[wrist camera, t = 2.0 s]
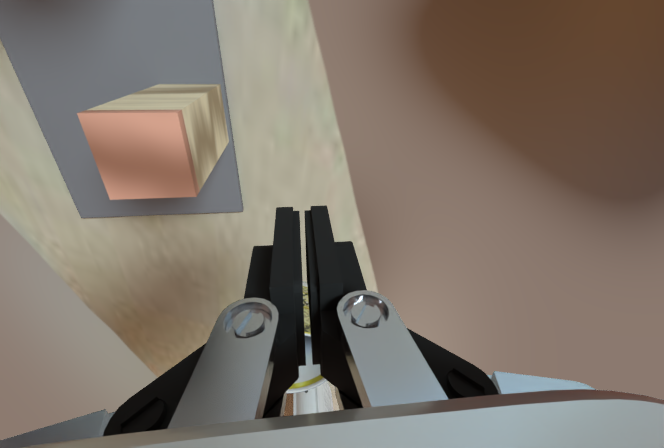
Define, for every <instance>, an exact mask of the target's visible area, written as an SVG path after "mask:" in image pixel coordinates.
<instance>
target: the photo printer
mask: <svg viewBox="0 0 664 448" xmlns="http://www.w3.org/2000/svg"><path fill="white" fill-rule="evenodd" d="M329 411H333V402H332V394H331V390H330V387H329V384H328V382H327V381H325V382H324V383H323V384H321V385H319V386H317V387H315V388H313V389H310V390H307V391H304V392H299V393H293V415H301V414H310V413H320V412H329Z"/></svg>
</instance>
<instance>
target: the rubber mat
mask: <svg viewBox="0 0 664 448" xmlns="http://www.w3.org/2000/svg"><path fill="white" fill-rule="evenodd" d="M0 39H1V41H2V43H3V46H4V48H5V50H6V52H7V55H8V57H9V59H10V61H11V63H12V66H13V68H14V70H15V72H16V75H17V77H18V79H19V81H20V83H21V86H22V88H23V90H24V92H25V94H26V97H27V99H28V101H29V103H30V106H31V108H32V110H33V112H34V114H35V117H36V119H37V121H38V123H39V126H40V128H41V130H42V132H43V134H44V137H45V139H46V141H47V143H48V145H49V148H50V150H51V152H52V154H53V157H54V159H55V161H56V163H57V165H58V168H59V170H60V172H61V174H62V177H63V179H64V181H65V183H66V185H67V188H68V190H69V192H70V194H71V196H72V199H73V201H74V203H75V205H76V208H77V210H78V212H79V214H80V216H81V218H93V217H118V216H143V215H168V214H193V213H218V212H243V203H242V196H241V189H240V182H239V175H238V169H237V162H236V155H235V148H234V141H233V134H232V128H231V121H230V114H229V107H228V100H227V93H226V87H225V80H224V73H223V66H222V59H221V52H220V46H219V39H218V32H217V25H216V18H215V12H214V5H213V0H0ZM158 84H220V86H221V93H222V99H223V106H224V112H225V119H226V125H227V132H228V138H229V143H228V144H227V146H226V148H225V149H224V151H223V153H222V154H221V156H220V158H219V159H218V161H217V163H216V165H215V166H214V168H213V170H212V171H211V173H210V175H209V176H208V178H207V180H206V181H205V183H204V185H203V187H202V188H201V190H200V192H199V193H198V195H197V197H177V198H148V199H119V200H110V198H109V196H108V193H107V191H106V188H105V185H104V183H103V180H102V178H101V175H100V172H99V170H98V167H97V164H96V162H95V159H94V157H93V154H92V151H91V149H90V146H89V144H88V141H87V138H86V136H85V133H84V131H83V128H82V125H81V123H80V120H79V118H78V115H77V113H79V112H82V111H85V110H88V109H90V108H93V107H96V106H99V105H102V104H105V103H107V102H110V101H113V100H116V99H119V98H121V97H124V96H127V95H130V94H133V93H135V92H138V91H141V90H144V89H147V88H150V87H152V86H155V85H158Z"/></svg>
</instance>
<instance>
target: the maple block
mask: <svg viewBox="0 0 664 448" xmlns="http://www.w3.org/2000/svg"><path fill="white" fill-rule="evenodd" d="M77 115H78V118H79V120H80V123H81V125H82V128H83V131H84V133H85V136H86V138H87V141H88V144H89V146H90V149H91V151H92V154H93V157H94V159H95V162H96V164H97V167H98V170H99V172H100V175H101V178H102V180H103V183H104V185H105V188H106V191H107V193H108V196H109V198H110V200H119V199H148V198H177V197H197V195H198V193H199V192H200V190H201V188H202V187H203V185H204V183H205V181H206V180H207V178H208V176H209V175H210V173H211V171H212V170H213V168H214V166H215V165H216V163H217V161H218V159H219V158H220V156H221V154H222V153H223V151H224V149H225V148H226V146H227V144H228V143H229V138H228V132H227V125H226V119H225V112H224V106H223V99H222V93H221V86H220V84H158V85H155V86H152V87H150V88H147V89H144V90H141V91H138V92H135V93H133V94H130V95H127V96H124V97H121V98H119V99H116V100H113V101H110V102H107V103H105V104H102V105H99V106H96V107H93V108H90V109H88V110H85V111H82V112H79V113H77Z"/></svg>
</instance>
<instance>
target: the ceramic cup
mask: <svg viewBox="0 0 664 448" xmlns="http://www.w3.org/2000/svg"><path fill="white" fill-rule="evenodd" d="M302 285H303V307H304V330H305V352H306V366H299V378H298V380H297V381H296V382H295V383H294V384H293V385H292V386H291V387H290V388H289V389H288V390H287V391H286V394H289V393H299V392H304V391H307V390H310V389H313V388H315V387H317V386H319V385H321V384H323V383H324V382H325V381H327V380H326V379H325V378H324V377H322V376H321V373H320V364H317V365H313V363H312V348H311V333H310V317H309V302H308V286H307V283H304V282H302Z"/></svg>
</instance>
